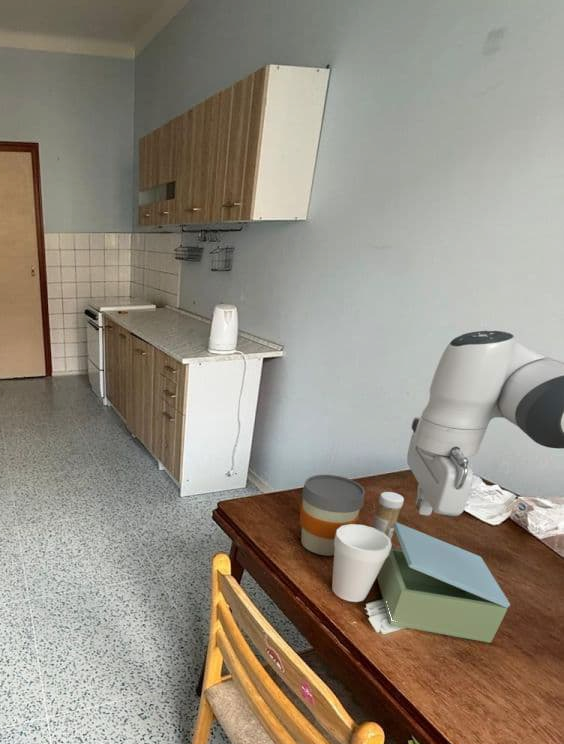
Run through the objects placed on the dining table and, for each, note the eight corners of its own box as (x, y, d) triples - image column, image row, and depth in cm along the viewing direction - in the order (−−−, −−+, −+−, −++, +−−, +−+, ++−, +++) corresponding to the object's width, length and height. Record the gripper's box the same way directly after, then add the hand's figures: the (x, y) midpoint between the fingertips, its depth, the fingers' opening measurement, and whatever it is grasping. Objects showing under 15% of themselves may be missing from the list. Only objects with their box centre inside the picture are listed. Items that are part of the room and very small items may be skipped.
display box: (390, 624, 86) (401, 591, 83) (377, 578, 98) (386, 547, 94) (490, 643, 82) (507, 608, 78) (464, 592, 94) (478, 560, 90)
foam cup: (324, 572, 100) (336, 520, 94) (372, 582, 97) (388, 529, 91) (323, 600, 92) (336, 546, 86) (376, 612, 89) (393, 557, 83)
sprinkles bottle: (392, 552, 106) (409, 500, 99) (372, 553, 106) (388, 501, 99) (381, 541, 110) (396, 490, 103) (362, 542, 110) (376, 491, 103)
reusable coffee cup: (315, 523, 117) (326, 469, 110) (362, 547, 107) (378, 490, 100) (281, 540, 111) (291, 484, 104) (328, 567, 102) (343, 507, 94)
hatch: (408, 567, 80) (411, 563, 80) (392, 524, 92) (395, 521, 91) (507, 608, 78) (510, 604, 78) (477, 559, 90) (481, 556, 89)
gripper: (495, 466, 66) (462, 547, 72) (451, 418, 83) (427, 487, 90) (444, 461, 68) (416, 540, 74) (411, 415, 85) (390, 482, 91)
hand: (422, 510), depth 82 cm, fingers closed
